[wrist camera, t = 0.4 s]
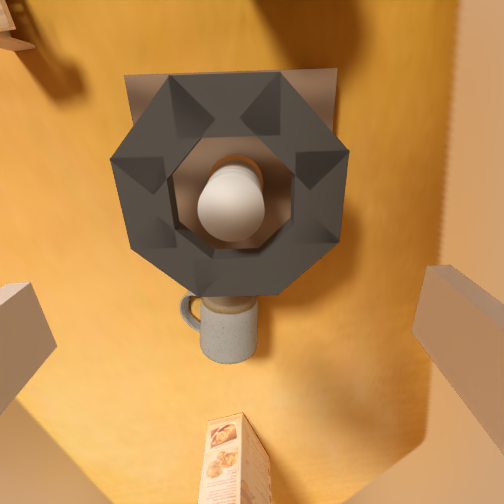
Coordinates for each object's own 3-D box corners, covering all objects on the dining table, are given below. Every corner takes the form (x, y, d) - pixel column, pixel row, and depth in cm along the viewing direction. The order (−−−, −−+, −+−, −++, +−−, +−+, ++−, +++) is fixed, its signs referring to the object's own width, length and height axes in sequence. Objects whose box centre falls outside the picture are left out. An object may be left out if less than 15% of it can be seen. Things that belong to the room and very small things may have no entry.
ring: (103, 79, 22) (90, 77, 20) (349, 71, 22) (359, 68, 20) (148, 287, 29) (142, 299, 28) (328, 282, 29) (334, 293, 28)
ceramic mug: (258, 278, 40) (259, 314, 33) (256, 326, 43) (257, 367, 36) (179, 276, 40) (164, 312, 33) (184, 324, 43) (171, 365, 36)
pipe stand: (131, 77, 29) (53, 55, 18) (332, 70, 29) (388, 44, 17) (163, 256, 38) (126, 321, 26) (318, 251, 38) (349, 314, 26)
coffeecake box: (206, 420, 52) (185, 576, 35) (243, 410, 51) (241, 566, 34) (237, 465, 59) (232, 617, 41) (270, 457, 58) (280, 610, 40)
